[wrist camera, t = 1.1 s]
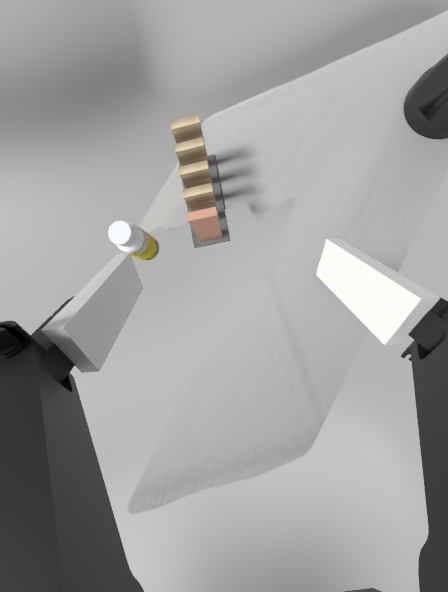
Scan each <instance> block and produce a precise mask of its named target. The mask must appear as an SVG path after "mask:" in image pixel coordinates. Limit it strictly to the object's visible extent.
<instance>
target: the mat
mask: <svg viewBox="0 0 448 592" xmlns="http://www.w3.org/2000/svg"><path fill="white" fill-rule="evenodd" d="M207 158H208V163H209V169H210V174H211V179H212V186H213V190H214V195H215V200H216V206H217V211H218V216H219V223H220V227H221V232H222V237H218V238H214V239H209V240H204V241H200V240H199V238H198V236H197V235H196V233H195V231H194V230H193V228H192V227H191V231H192V237H193V242H194V247H195V248H197V247H201V246H207V245H211V244H216V243H221V242H226V241H230V237H229V231H228V226H227V221H226V215H225V210H224V204H223V199H222V194H221V188H220V183H219V178H218V172H217V167H216V162H215V157H214V155H209V156H207ZM179 164H180V163H179ZM180 166H181V164H180ZM183 187H184V189H186V188H185V185H184V183H183ZM187 209H188V213H189V212H191V210H190V208H189V206H188V205H187ZM190 226H191V225H190Z"/></svg>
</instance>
